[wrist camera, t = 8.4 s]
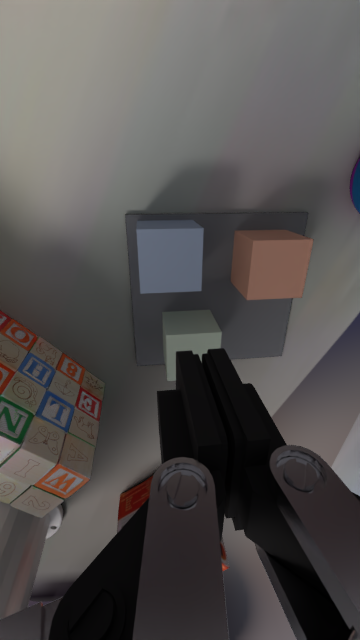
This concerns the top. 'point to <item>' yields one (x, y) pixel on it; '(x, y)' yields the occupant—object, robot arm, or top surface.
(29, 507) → the stack of blocks
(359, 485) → the top surface
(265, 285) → the terracotta cube
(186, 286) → the slate-blue cube
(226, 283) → the charcoal mat
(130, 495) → the medicine box
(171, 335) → the sage cube
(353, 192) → the decorative egg
